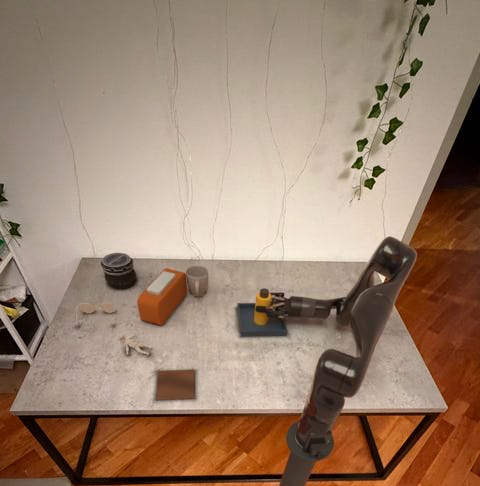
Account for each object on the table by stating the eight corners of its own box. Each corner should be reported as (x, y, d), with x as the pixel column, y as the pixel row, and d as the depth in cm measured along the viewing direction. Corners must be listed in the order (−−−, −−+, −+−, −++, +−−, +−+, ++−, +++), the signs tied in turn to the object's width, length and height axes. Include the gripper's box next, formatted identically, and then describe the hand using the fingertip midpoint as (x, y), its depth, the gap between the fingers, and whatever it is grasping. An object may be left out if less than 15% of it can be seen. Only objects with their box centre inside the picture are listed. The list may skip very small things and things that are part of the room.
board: (194, 398, 106) (194, 397, 105) (156, 400, 105) (155, 398, 104) (194, 371, 113) (194, 369, 113) (158, 372, 112) (157, 370, 112)
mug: (187, 286, 143) (186, 265, 135) (208, 286, 143) (208, 265, 136) (187, 303, 136) (185, 282, 128) (209, 303, 136) (208, 282, 129)
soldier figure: (143, 363, 116) (111, 347, 114) (147, 362, 120) (116, 346, 119) (153, 343, 114) (120, 326, 113) (156, 343, 119) (125, 326, 118)
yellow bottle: (269, 325, 129) (273, 295, 119) (254, 325, 129) (257, 295, 118) (267, 315, 132) (271, 286, 122) (253, 316, 132) (255, 286, 122)
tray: (286, 335, 127) (287, 330, 125) (241, 336, 125) (241, 331, 123) (279, 307, 137) (279, 302, 135) (237, 308, 135) (237, 303, 133)
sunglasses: (118, 312, 130) (114, 302, 126) (116, 329, 126) (112, 319, 122) (80, 312, 129) (76, 303, 124) (77, 329, 125) (72, 320, 121)
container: (110, 272, 146) (104, 250, 138) (140, 274, 146) (135, 252, 139) (102, 289, 139) (95, 266, 131) (133, 291, 139) (128, 269, 131)
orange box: (169, 288, 141) (166, 263, 132) (188, 293, 140) (185, 267, 131) (141, 322, 127) (135, 296, 118) (160, 327, 126) (156, 301, 117)
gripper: (302, 287, 126) (258, 283, 126) (304, 311, 117) (255, 306, 117) (299, 304, 132) (256, 300, 132) (300, 328, 123) (254, 323, 123)
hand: (256, 303), depth 125 cm, fingers closed on yellow bottle, 5 cm apart
